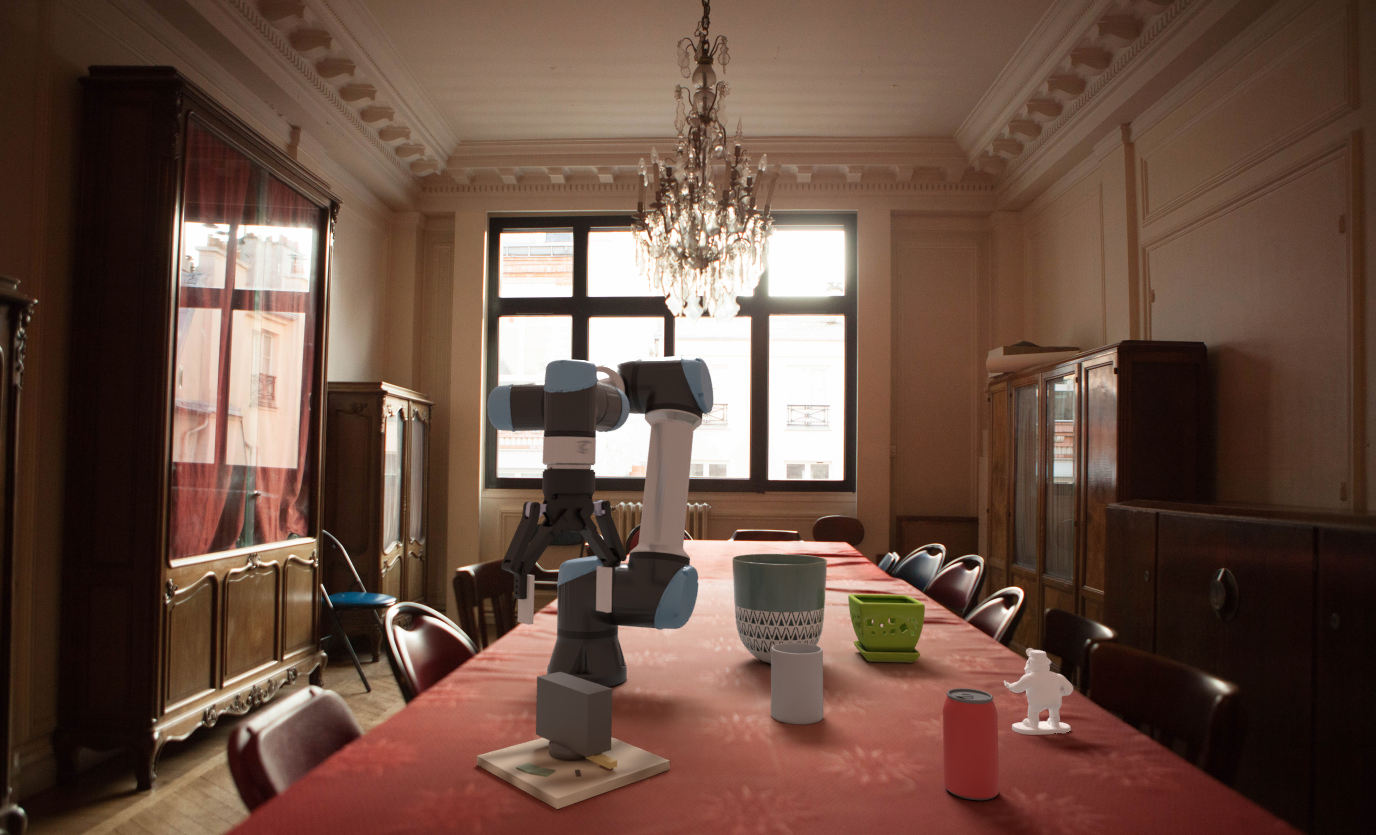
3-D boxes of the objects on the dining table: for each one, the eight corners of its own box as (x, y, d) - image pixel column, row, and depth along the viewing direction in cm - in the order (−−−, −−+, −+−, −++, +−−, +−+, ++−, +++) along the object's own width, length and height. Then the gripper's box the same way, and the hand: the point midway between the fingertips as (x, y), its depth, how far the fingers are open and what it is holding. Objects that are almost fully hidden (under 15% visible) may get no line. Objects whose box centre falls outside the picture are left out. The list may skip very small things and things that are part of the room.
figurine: (1054, 721, 127) (1052, 645, 127) (1079, 734, 120) (1077, 655, 121) (1001, 723, 125) (999, 647, 126) (1024, 737, 119) (1022, 656, 120)
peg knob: (528, 745, 109) (529, 678, 110) (566, 734, 114) (567, 670, 114) (593, 775, 99) (594, 701, 99) (632, 763, 103) (633, 691, 104)
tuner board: (476, 764, 106) (476, 754, 106) (584, 734, 119) (584, 724, 119) (557, 809, 92) (557, 797, 92) (669, 769, 105) (669, 758, 105)
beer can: (935, 781, 101) (934, 687, 102) (984, 780, 102) (982, 686, 103) (956, 803, 95) (955, 702, 96) (1009, 802, 95) (1007, 701, 96)
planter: (765, 678, 151) (765, 566, 153) (714, 656, 169) (715, 556, 170) (847, 667, 160) (846, 561, 162) (791, 647, 178) (790, 552, 179)
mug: (828, 724, 124) (827, 654, 125) (774, 724, 124) (774, 654, 125) (814, 702, 136) (814, 638, 137) (765, 702, 136) (765, 637, 137)
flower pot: (927, 666, 162) (926, 603, 163) (859, 665, 162) (859, 603, 163) (909, 650, 176) (908, 593, 177) (846, 650, 176) (846, 592, 177)
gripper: (508, 466, 102) (503, 632, 100) (650, 468, 119) (649, 610, 118) (478, 466, 107) (473, 624, 105) (619, 468, 124) (616, 603, 123)
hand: (566, 617), depth 112 cm, fingers open, 13 cm apart
